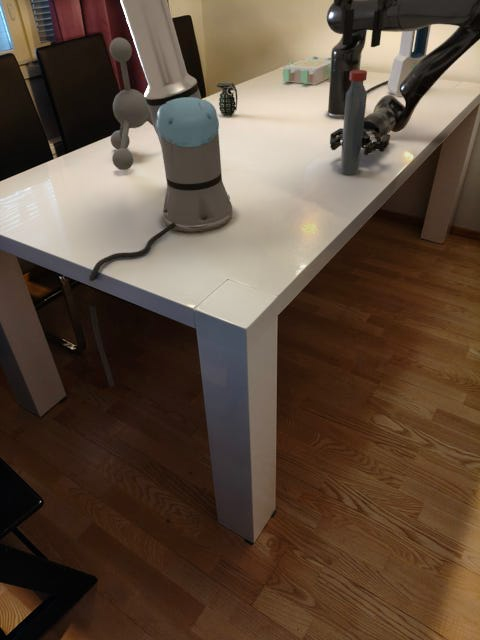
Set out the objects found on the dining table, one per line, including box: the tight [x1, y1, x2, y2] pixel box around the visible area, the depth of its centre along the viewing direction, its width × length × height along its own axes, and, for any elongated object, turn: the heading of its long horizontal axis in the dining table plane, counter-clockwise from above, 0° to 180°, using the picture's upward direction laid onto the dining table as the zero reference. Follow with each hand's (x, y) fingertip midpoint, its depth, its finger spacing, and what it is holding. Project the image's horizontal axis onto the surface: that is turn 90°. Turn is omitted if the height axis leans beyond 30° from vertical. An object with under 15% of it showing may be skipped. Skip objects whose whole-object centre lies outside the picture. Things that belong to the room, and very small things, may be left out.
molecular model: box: [109, 37, 153, 171], centre depth 131 cm, size 24×22×30 cm
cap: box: [349, 69, 368, 82], centre depth 111 cm, size 4×4×2 cm
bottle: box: [339, 81, 368, 176], centre depth 117 cm, size 5×5×23 cm
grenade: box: [215, 82, 238, 117], centre depth 166 cm, size 7×6×10 cm
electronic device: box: [387, 25, 432, 97], centre depth 173 cm, size 12×8×30 cm, turn 105°
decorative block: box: [282, 56, 331, 85], centre depth 205 cm, size 26×6×20 cm
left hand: (360, 44), depth 107 cm, fingers open, 6 cm apart
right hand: (348, 148), depth 119 cm, fingers open, 8 cm apart
